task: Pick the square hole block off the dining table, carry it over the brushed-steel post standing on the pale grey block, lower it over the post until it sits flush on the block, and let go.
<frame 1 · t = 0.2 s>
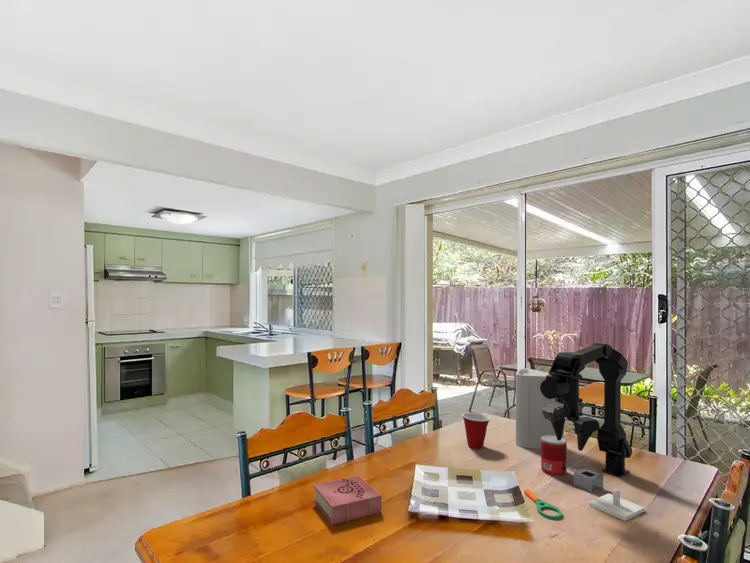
hand: (569, 445, 134), 14 cm above the table, fingers open, 9 cm apart
post block: (616, 508, 123), on the table
book: (346, 509, 122), on the table
plastic cup: (476, 446, 171), on the table
canned food: (553, 472, 148), on the table
magnifying glass: (541, 507, 124), on the table
square hole block: (588, 486, 136), on the table
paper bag: (531, 443, 175), on the table
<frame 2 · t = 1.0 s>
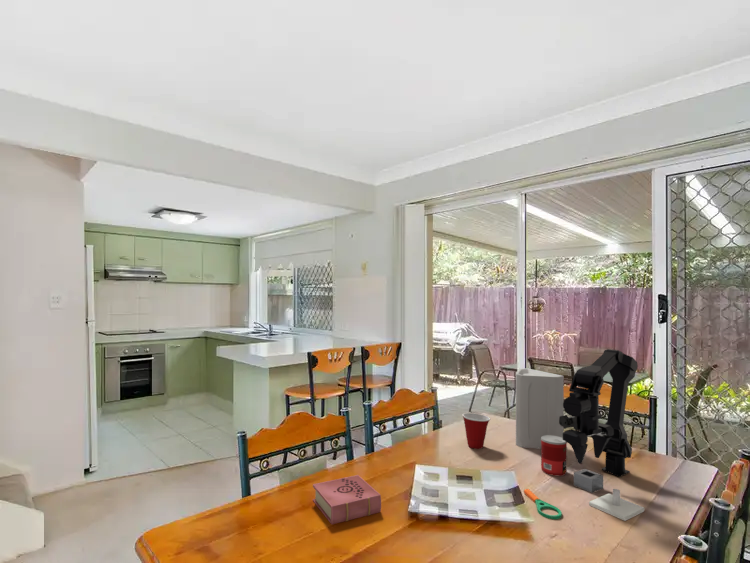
hand: (588, 460, 136), 8 cm above the table, fingers open, 9 cm apart
nothing on the table moved.
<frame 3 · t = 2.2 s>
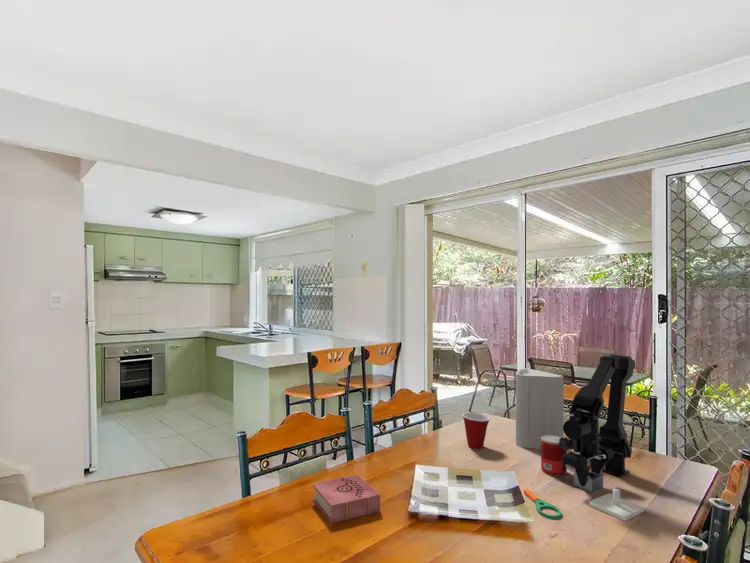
hand: (588, 483, 136), 1 cm above the table, fingers closed on square hole block, 6 cm apart
square hole block: (588, 486, 136), on the table, touching gripper
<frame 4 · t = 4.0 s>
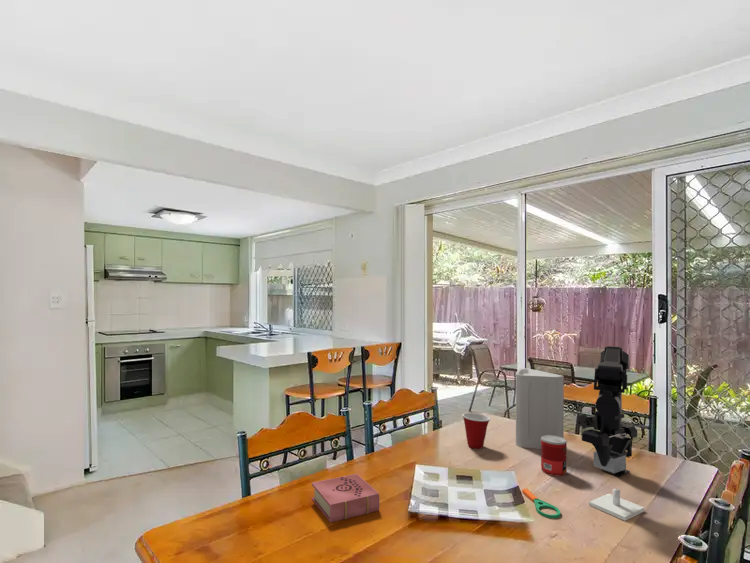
hand: (609, 464, 125), 11 cm above the table, fingers closed on square hole block, 6 cm apart
square hole block: (609, 467, 125), point 10 cm above the table, touching gripper
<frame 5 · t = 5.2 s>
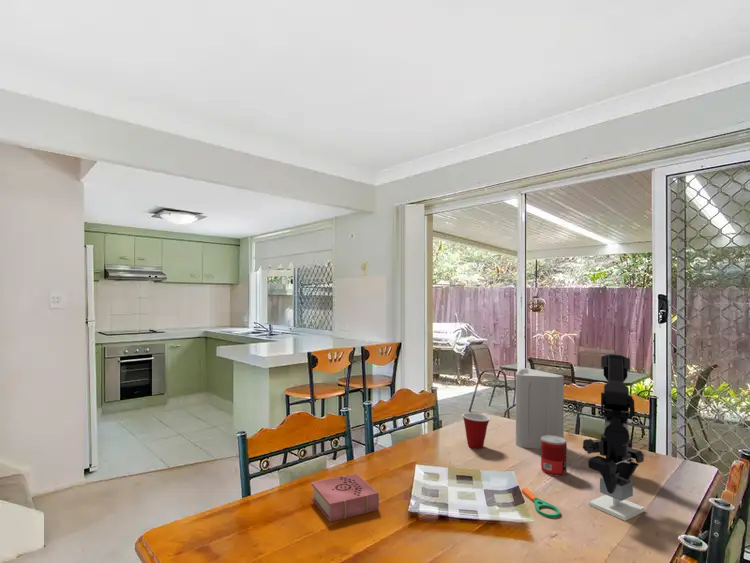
hand: (616, 490, 123), 5 cm above the table, fingers closed on square hole block, 6 cm apart
square hole block: (616, 494, 123), point 4 cm above the table, touching gripper
when the fingers open (3 cm above the table, at t = 6.0 s): square hole block drops 1 cm, resting on post block.
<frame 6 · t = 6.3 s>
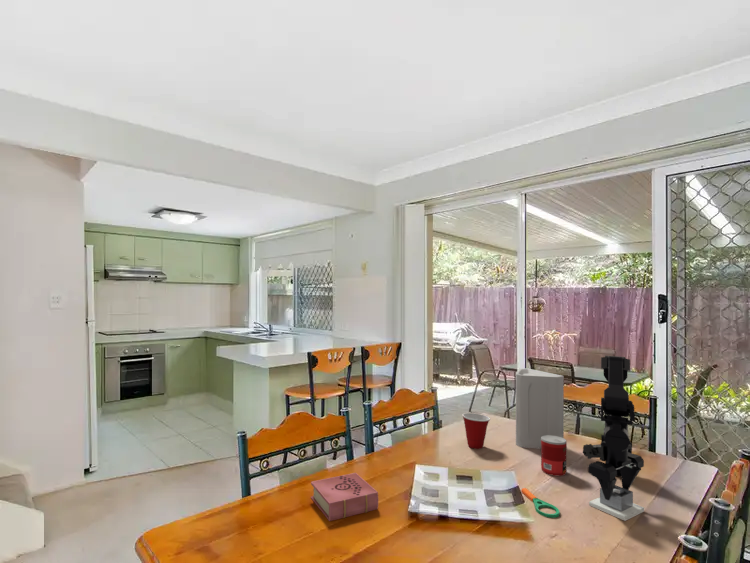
hand: (616, 495, 123), 3 cm above the table, fingers open, 9 cm apart
square hole block: (616, 504, 123), point 1 cm above the table, touching post block
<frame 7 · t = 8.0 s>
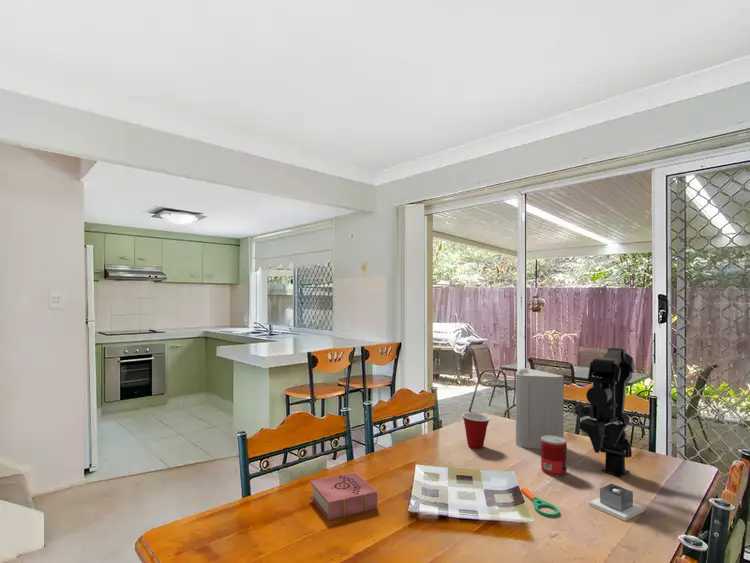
hand: (605, 449, 136), 12 cm above the table, fingers open, 9 cm apart
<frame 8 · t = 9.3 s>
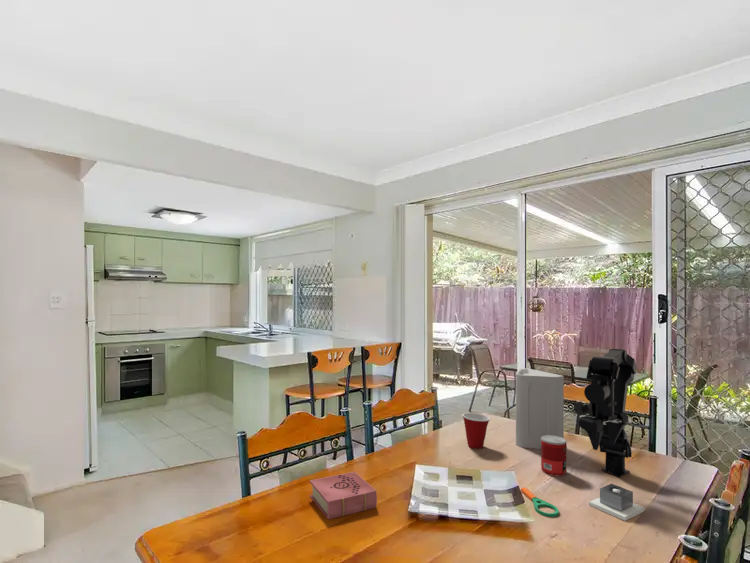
hand: (603, 447, 137), 12 cm above the table, fingers open, 9 cm apart
at the end: square hole block 0.1 cm off-centre on the post block, point 1.0 cm above the post block's base; square hole block tilted 0°; the gripper is holding nothing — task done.
